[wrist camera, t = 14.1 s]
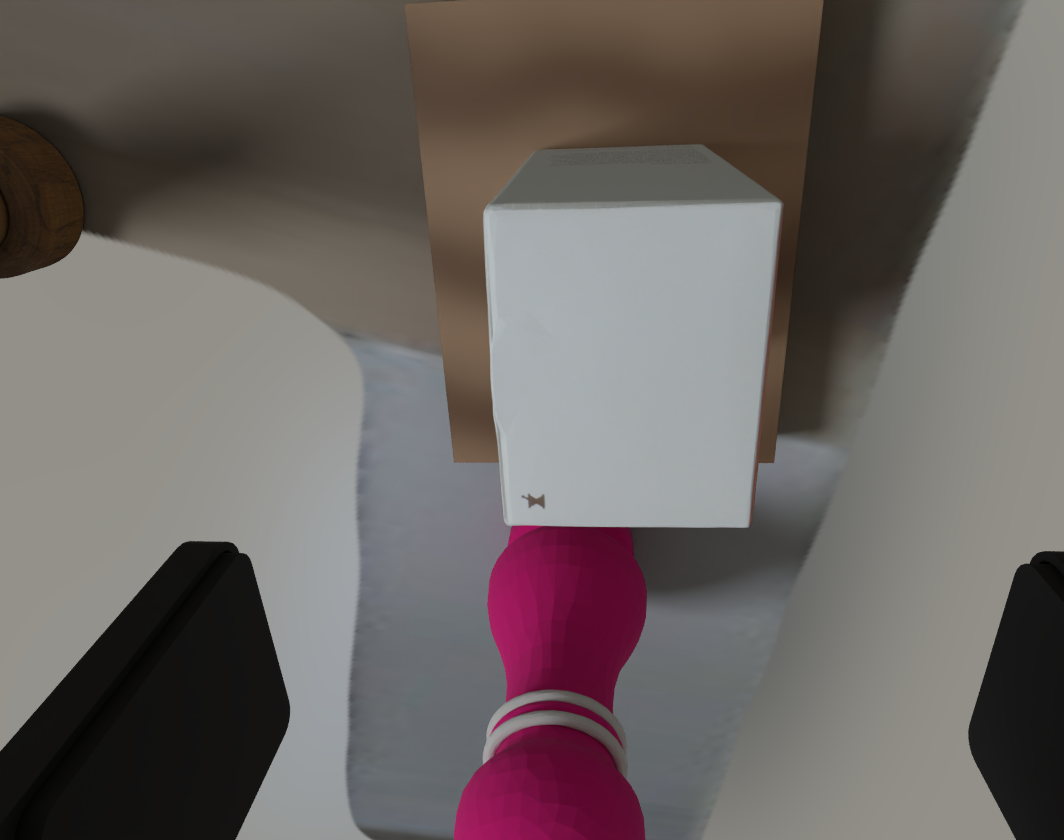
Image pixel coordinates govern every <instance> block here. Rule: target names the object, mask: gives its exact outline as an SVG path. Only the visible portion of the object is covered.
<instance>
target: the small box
mask: <svg viewBox="0 0 1064 840" xmlns="http://www.w3.org/2000/svg"><path fill="white" fill-rule="evenodd" d="M783 208H784V203H783V202H782V201H781V200H780V199H778V198H777V197H776V196H774V195H773V194H771V193H770V192H768V191H767V190H766V189H764V188H763V187H762V186H760V185H759V184H758V183H756V182H755V181H753V180H752V179H750V178H749V177H748V176H746V175H745V174H743V173H742V172H741V171H739V170H738V169H736V168H735V167H733V166H732V165H731V164H730V163H728V162H727V161H725V160H724V159H723V158H721V157H720V156H718V155H717V154H715V153H714V152H712V151H711V150H710V149H708V148H707V147H705V146H704V145H702V144H690V145H662V146H635V147H607V148H577V149H545V150H536V151H534V152H533V153H532V154H531V156H530V157H529V158H528V159H527V160H526V161H525V162H524V164H523V165H522V166H521V167H520V168H519V169H518V171H517V172H516V173H515V174H514V175H513V176H512V178H511V179H510V180H509V181H508V182H507V183H506V185H505V186H504V187H503V188H502V189H501V191H500V192H499V193H498V194H497V195H496V196H495V197H494V199H493V200H492V201H491V202H490V203H489V204H488V205H487V206H486V208H485V210H484V214H483V226H484V250H485V271H486V289H487V303H488V325H489V344H490V376H491V392H492V401H493V417H494V423H495V428H496V435H497V443H498V456H499V466H500V480H501V492H502V502H503V514H504V522H505V524H506V525H507V526H519V525H537V526H576V527H689V528H717V527H730V528H748V527H750V525H751V523H752V518H753V509H754V499H755V490H756V481H757V471H758V462H759V452H760V442H761V432H762V421H763V411H764V402H765V391H766V381H767V372H768V363H769V353H770V343H771V333H772V321H773V311H774V301H775V291H776V280H777V271H778V261H779V250H780V240H781V230H782V219H783Z"/></svg>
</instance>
